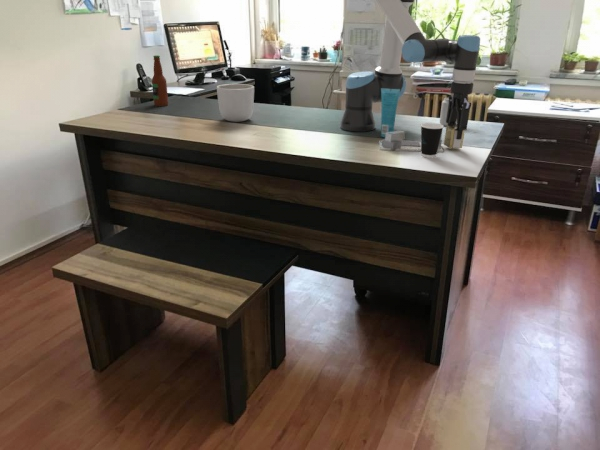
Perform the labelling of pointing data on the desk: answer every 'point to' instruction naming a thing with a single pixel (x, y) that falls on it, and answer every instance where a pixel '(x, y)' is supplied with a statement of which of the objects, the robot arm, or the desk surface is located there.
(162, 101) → the bottle
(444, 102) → the can
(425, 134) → the dixie cup
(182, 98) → the desk surface
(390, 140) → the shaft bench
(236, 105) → the planter
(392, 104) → the tube
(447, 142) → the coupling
